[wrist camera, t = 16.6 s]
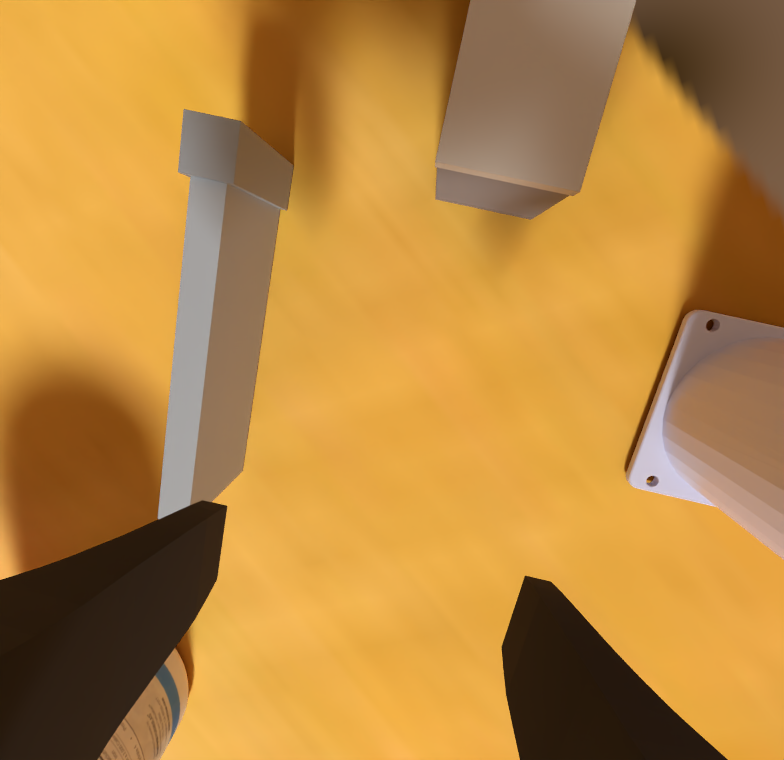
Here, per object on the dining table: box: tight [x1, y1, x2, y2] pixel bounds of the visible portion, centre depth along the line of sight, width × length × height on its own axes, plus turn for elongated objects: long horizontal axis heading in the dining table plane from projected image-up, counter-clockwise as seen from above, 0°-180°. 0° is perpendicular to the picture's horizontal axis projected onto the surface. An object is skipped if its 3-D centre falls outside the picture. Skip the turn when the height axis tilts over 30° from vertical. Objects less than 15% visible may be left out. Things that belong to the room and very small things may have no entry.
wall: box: [158, 109, 294, 519], centre depth 16 cm, size 2×30×5 cm, turn 168°
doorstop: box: [435, 0, 636, 219], centre depth 14 cm, size 4×8×6 cm, turn 168°
